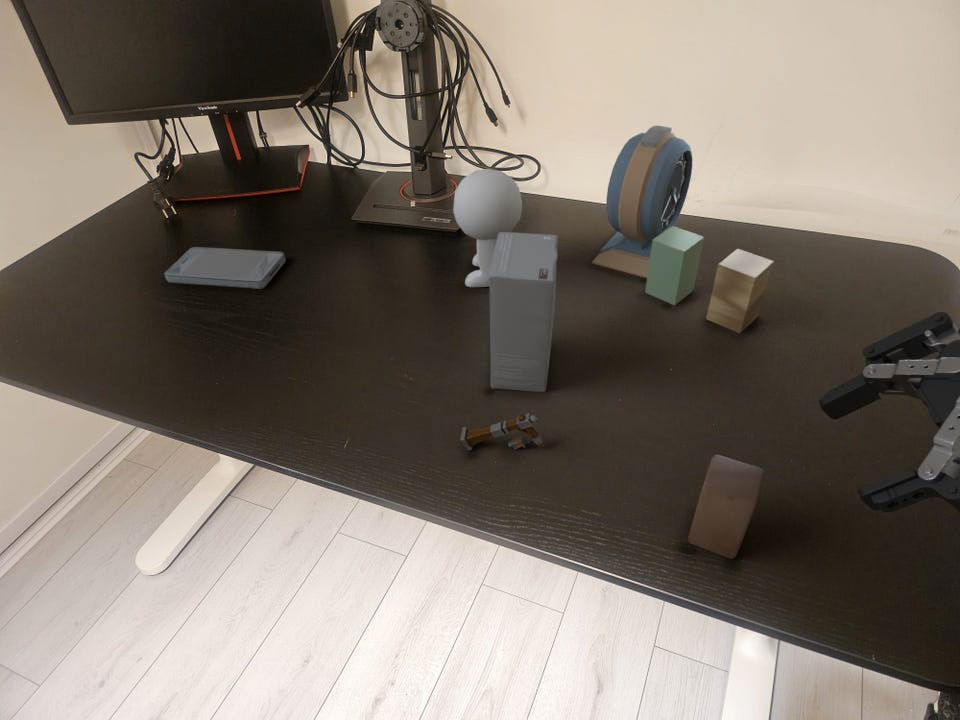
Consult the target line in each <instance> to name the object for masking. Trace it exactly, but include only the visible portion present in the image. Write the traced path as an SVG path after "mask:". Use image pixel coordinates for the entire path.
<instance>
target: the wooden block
mask: <svg viewBox="0 0 960 720" xmlns="http://www.w3.org/2000/svg"><path fill="white" fill-rule="evenodd" d="M764 476H765V475H764V470H763V469H762V468H760V467H758V466H755V465H752V464H749V463H746V462H742V461H739V460H736V459H733V458H730V457H727V456H723V455H720V454H714V455H713V456H712V457H711V459H710V463H709V466H708V469H707V472H706V475H705V479H704V482H703V485H702V488H701V492H700V495H699V499H698V501H697V505H696V508H695V512H694V516H693V520H692V523H691V526H690V530H689V533H688V537H687V540H688V543H689V544H690V545H693V546H696V547H698V548H700V549H704V550H706V551H709V552H711V553H714V554H716V555H719V556H721V557H724V558H726V559H729V560H734V559H735V558H736V557H737V555H738V553H739V551H740V548H741V545H742V543H743V540H744V538H745V535H746V532H747V530H748V528H749V526H750V523H751V520H752V517H753V515H754V512H755V510H756V508H757V506H758V505H757V504H758V500H759V496H760V492H761V487H762V483H763V479H764Z"/></svg>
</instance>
